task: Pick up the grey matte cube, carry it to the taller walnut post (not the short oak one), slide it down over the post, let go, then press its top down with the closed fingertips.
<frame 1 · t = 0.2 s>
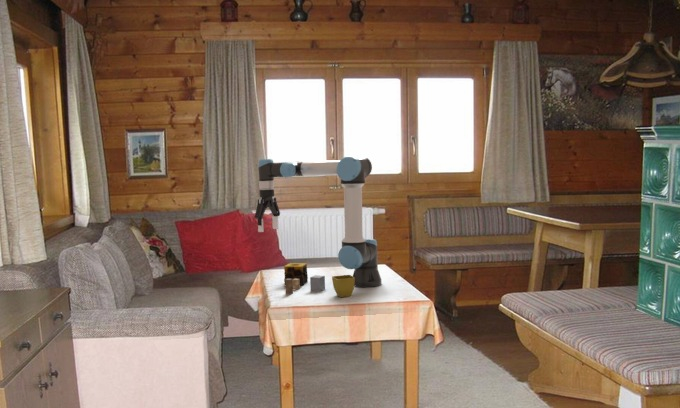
hand: (268, 230, 328), 28 cm above the table, tool pointing down, fingers open, 13 cm apart
walnut post: (289, 293, 303), on the table
oak post: (296, 289, 313), on the table
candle: (296, 284, 327), on the table
flower pot: (343, 296, 295), on the table
grey matte cube: (317, 289, 310), on the table
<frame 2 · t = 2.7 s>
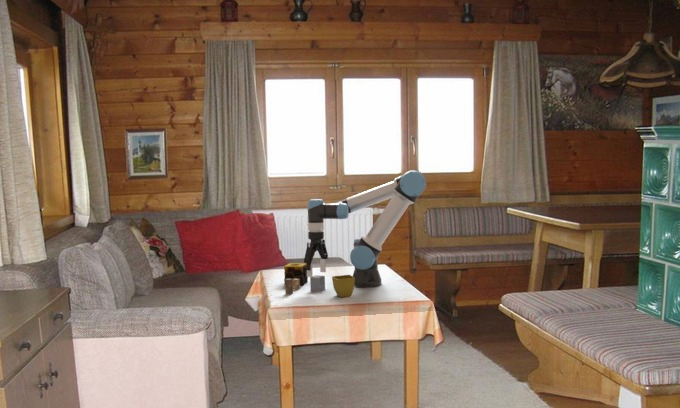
hand: (316, 274, 309), 8 cm above the table, tool pointing down, fingers open, 13 cm apart
nothing on the table moved.
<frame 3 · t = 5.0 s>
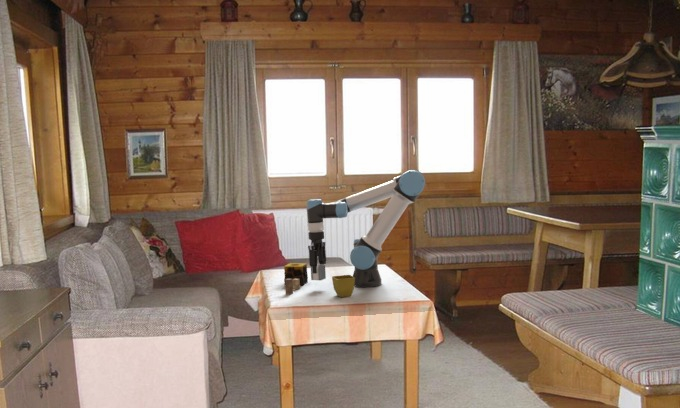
hand: (319, 278, 309), 6 cm above the table, tool pointing down, fingers closed on grey matte cube, 5 cm apart
grey matte cube: (318, 279, 310), point 5 cm above the table, touching gripper
everything else where it was.
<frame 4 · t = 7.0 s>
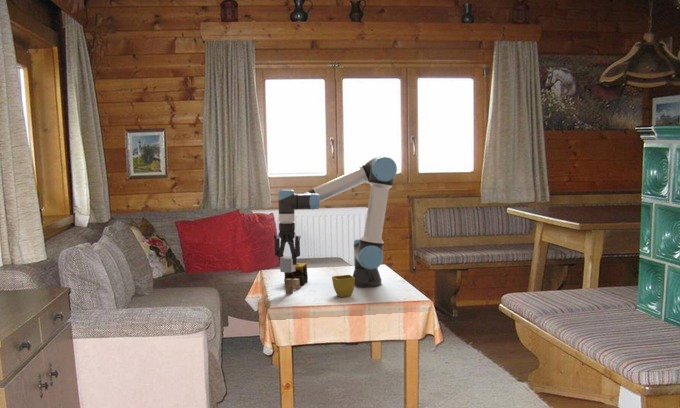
hand: (287, 270, 302), 11 cm above the table, tool pointing down, fingers closed on grey matte cube, 5 cm apart
grey matte cube: (288, 271, 303), point 11 cm above the table, touching gripper
everything else where it was.
when the fingers open (1 cm above the table, at t = 9.0 s): grey matte cube stays where it is, resting on walnut post.
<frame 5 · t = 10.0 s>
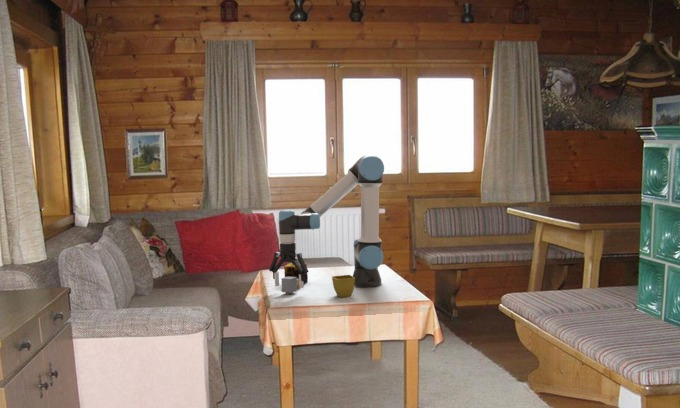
hand: (289, 286, 303), 3 cm above the table, tool pointing down, fingers open, 13 cm apart
grey matte cube: (289, 291, 303), point 1 cm above the table, touching walnut post
everything else where it was.
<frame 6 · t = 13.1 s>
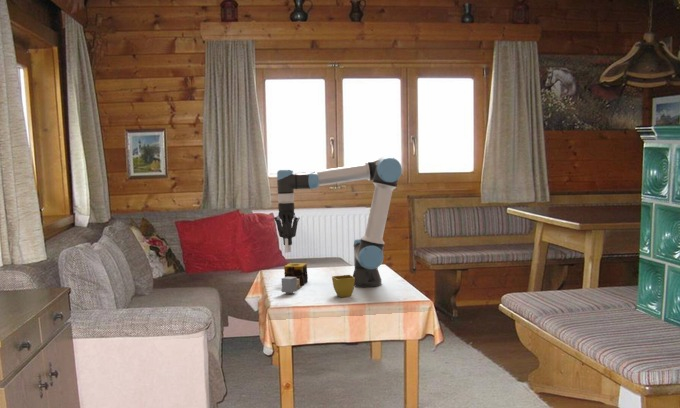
hand: (288, 251, 302), 20 cm above the table, tool pointing down, fingers closed
nothing on the table moved.
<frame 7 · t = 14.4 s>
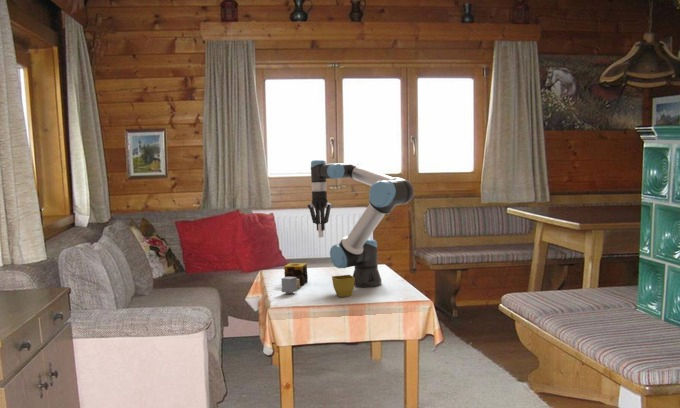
hand: (321, 237, 323), 24 cm above the table, tool pointing down, fingers closed
nothing on the table moved.
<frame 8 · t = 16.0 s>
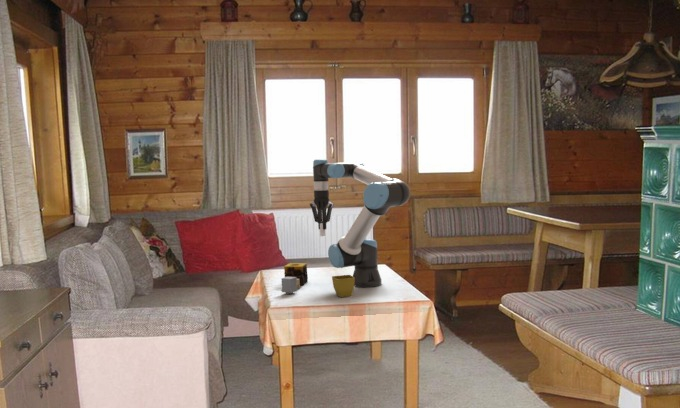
hand: (322, 235, 325), 24 cm above the table, tool pointing down, fingers closed
nothing on the table moved.
at the end: grey matte cube 0.2 cm from the walnut post (horizontally); grey matte cube point 1.0 cm above the table; grey matte cube tilted 0° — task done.
